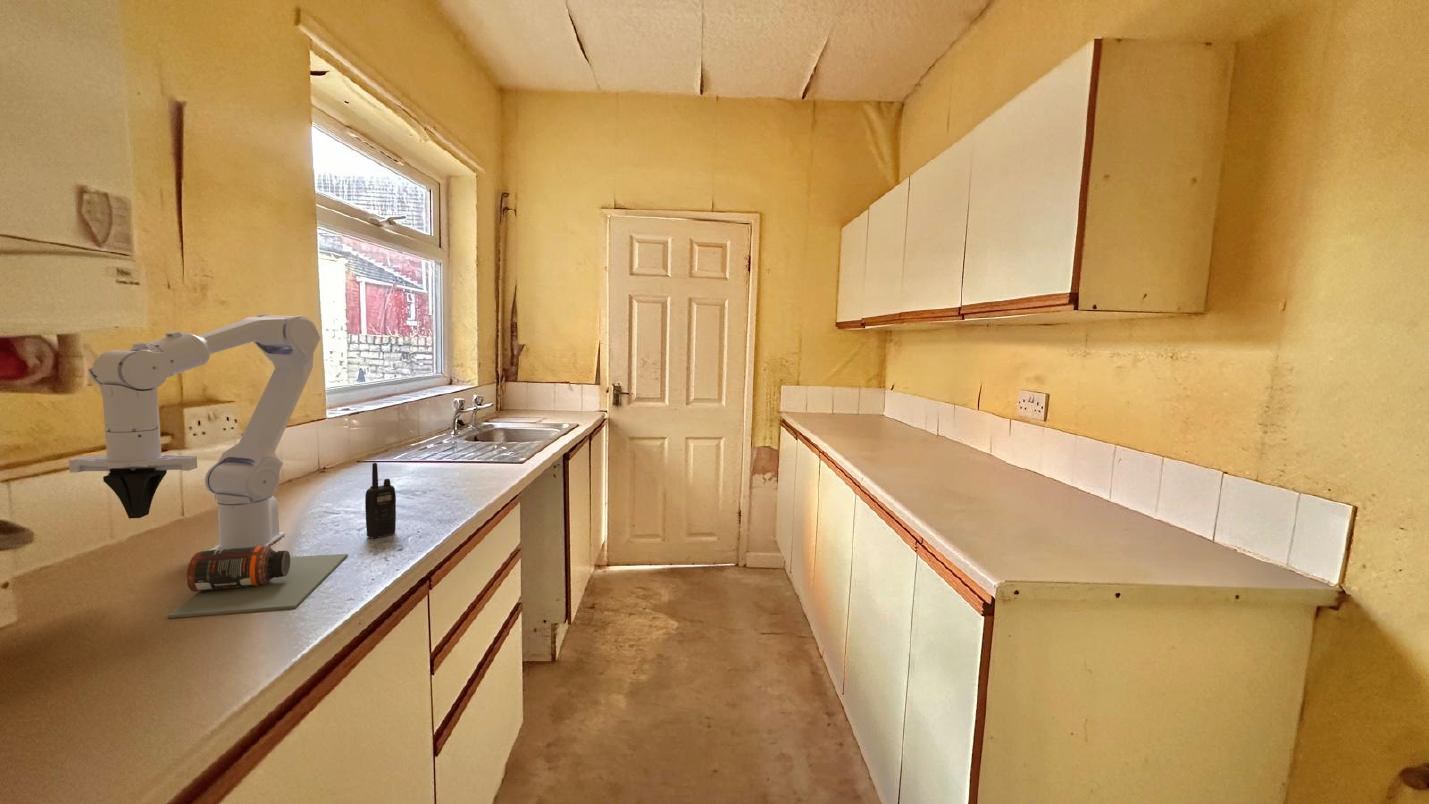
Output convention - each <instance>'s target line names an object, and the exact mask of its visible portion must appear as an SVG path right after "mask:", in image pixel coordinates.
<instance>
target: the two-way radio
mask: <svg viewBox="0 0 1429 804" xmlns="http://www.w3.org/2000/svg"><path fill="white" fill-rule="evenodd" d="M371 466H372V467H371V472H372V473H371V486H370V487H369V488H368V489H367V490H366V491H365V497H364V498H365V500H364V505H365V507H364V509H365V510H364V511H365V524H366V525H365V527H366V537H367V538H370V539H377V538H381V537H385V536H389V535H393V534H395V533H396V528H397V527H396V524H397V523H396V522H397V521H396V519H397V513H396V511H397V510H396V509H397V504H396V503H397V499H396V498H397V497H396V496H397V495H396V494H397V493H396V489H395V487H394V485H392V484H391V480H390V478H385V479H383V483H382V485H379V474H378V471H379V470H378V463H376V462H372V465H371Z"/></svg>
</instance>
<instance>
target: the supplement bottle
mask: <svg viewBox="0 0 1429 804" xmlns="http://www.w3.org/2000/svg"><path fill="white" fill-rule="evenodd" d="M290 557H291V554H290V551H288V550H286V549H285V550H276V551H275V550H274V549H273V548H272V547H271V546H259V547H246V548H234V549H222V550H211V549H210V550H201V551H198V552H196V553H195V554H194V555H193V556H192V557H191V559H190V560H189V563H188V565H187V567H186V568H187V570H186V571H187V572H186V583H187V587H188V589H189V590H190V591H192V592H195V593H200V592H202V591H211V590H221V589H230V588H241V587H250V586H259V585H264V584H266V583H268V582H269V581H270V579H272V578H274V577H276V578H278V577H284V576H286V575H287V574H288V572H289V569H290Z"/></svg>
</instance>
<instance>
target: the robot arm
mask: <svg viewBox="0 0 1429 804" xmlns="http://www.w3.org/2000/svg"><path fill="white" fill-rule="evenodd" d="M165 336H166V337H164V338H163V337H162V338H159V339H157V340H153V341H150V342H146V343H145V342H135V343H133V344H132V345H131V346H132V347H131V348H130V349H129V350H125V349H124V350H123V349H122V350H121V349H113V350H107V351H104V352H103V353H101V354H99V355H98V357H97V358H95V360H94V362H93V364H92V367H91V368H90V367H89V368H88V370H87V371H88V374H89V378H91V379H92V381H93V382H95V383H96V384H97V385H98V387H99V389H100V396H102V408H103V423H104V425H103V426H104V435H105V447H106V450H105V451H106V455H105V456H104V455H103V456H88V457H87V456H84V457H76V458H72V459H69V460H68V467H69V473H73V474H75V473H76V474H77V473H81V472H109V473H108V475H104V476H103V477H102V479H103V483H105V484H106V485H107V486H108V487H109V488H110V489H111V490H112V491H113V492H114V493H115V495H116V496H117V498H118V500H119V501H120V502H121V505H122V506H123V509H124V510H125V513H126V515H127V517H128V519H140V518H143V517H146V516H148V515H149V514H150V510H151V505H152V501H153V499H154V496H155V495H156V491H157V489H158V488H159V486H160V485H161V482H162V480H163V479H164V478H165V476H166V475H167V473H168V471H178V470H180V471H182V472H183V471H186V472H188V471H192V470H195V469H197V468H198V456H197V455H175V454H162V444H161V428H160V427H161V426H160V411H159V407H160V406H159V395H158V394H159V391H158V388H160V387H161V386H162V385H163V384H164V383H165V382H166V380H167V379H168V378H170V377H173V376H175V375H178V374H182V373H184V372H187V371H190V370H193V369H195V368H199V367H200V366H204V365H206V364H207V363H208V362H209V360H210V357H211V355H212V354H215V353H219V352H222V351H225V350H229V349H232V348H235V347H238V346H242V345H246V344H249V343H252V342H253V344H254V345H255V346H256V347H257V348H258V349H259V350H260V351H261V352H262V353H263V354H264V356H265V357H266V358H267V359H268V360H269V361H270V362H272V364H273V366H274V369H273V371H272V373H271V376H270V378H269V379H268V381H267V384H266V386H265V388H264V390H263V393H262V395H261V397H260V399H259V400H258V402H257V405H256V407H255V409H254V411H253V413H252V415H251V417H250V419H249V421H248V423H247V425H246V427H245V430H244V431H243V433H242V435H241V437H240V440H239V442H238V443H237V444H236V445H235V444H234V446H232V447H230V448H228V449H227V450H225V451H224V452H222V454H221V455H220V458H219V459H218V461H217V462H215V463H214V464H213V465H212V466H210V468H209V469H208V470H207V472H206V474H205V477H204V484H205V487H206V489H207V490H208V491H209V493H211V494H213V495H214V500H215V501H217V517H218V521H217V522H218V534H219V535H218V536H219V537H218V539H219V544H218V545H216V546H215V547H213V548H211V549H210V550H222V549H234V548H246V547H259V546H268V547H270V546H271V545H272V544H273V543H276V541H278V540H279V539H280V538H282V537H283V536H285V535H286V532H284V531H280V517H279V516H280V515H279V514H280V511H279V503H278V500H277V499H276V497H274V496H273V494H274V492H276V491H277V489H278V488H279V485H280V480H281V479H280V478H281V477H280V474H281V472H280V471H281V469H282V466H283V461H282V460H281V458H280V457H279V456H278V454H276V450H277V448H278V446H279V443H280V441H281V439H282V437H283V435H284V432H285V431H286V428H287V427H288V424H289V421H290V420H291V417H292V415H293V413H294V410H295V409H296V406H297V404H298V401H299V399H300V397H301V395H302V393H303V391H304V389H305V386H306V384H307V383H308V379H309V378H310V376H311V374H312V369H313V367H314V354H315V351H316V348H317V347H318V345H319V342H320V340H321V336H320V333H319V332H318V329H317V327H316V325H315V323H314V321H312V319H310V318H308V317H307V316H304V315H296V316H295V315H293V316H291V315H271V314H265V313H264V314H258V315H256V316H249V317H247V316H246V317H245V318H243V319H241V320H239V321H235V322H233V323H230V324H227V325H225V326H221V327H219V328H217V329H213V330H211V331H208V332H204V333H202V334H200V335H195V334H193V333H190V332H181V331H175V330H174V331H173V330H172V331H169V332H166V333H165Z"/></svg>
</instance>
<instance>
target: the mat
mask: <svg viewBox="0 0 1429 804" xmlns="http://www.w3.org/2000/svg"><path fill="white" fill-rule="evenodd" d="M348 554H349V553H341V554H339V553H337V554H336V553H335V554H319V555H318V554H317V555H305V556H304V555H299V556H290V569H289V572H288V574H287V575H286V576H284V577H278V578H276V577H274V578H272V579H270V581H269V582H268V583H266V584H264V585H259V586H250V587H241V588H230V589H221V590H211V591H202V592H201V591H199V592H198V594H196V595H194V596H193V597H192V598H190V599H188V600H187V601H186V602H185V603H183V604H182V605H181V606H179V607H177V608H176V609H174V610H173V611H171V613H169V614H167V619H172V618H173V619H174V618H185V617H188V618H189V617H200V616H213V615H224V614H226V615H227V614H239V613H240V614H241V613H252V612H264V611H265V612H266V611H279V610H291V609H293V610H294V609H296V608H298V606H299V605H301V604H302V603H303V602H304V600H306V598H307V597H309V596H310V594H312V593H313V592H314V591H315V590H316V588H317V587H318V586H319V585H321V584H322V583H323V581H325V580H326V578H327V577H328V576H329V575H330V574H331V573H332V572H334V571H335V569H336V568H338V567H339V565H340V564H341V563H342V562H344V561H345V560H346V559H347V557H348V556H349V555H348Z"/></svg>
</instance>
